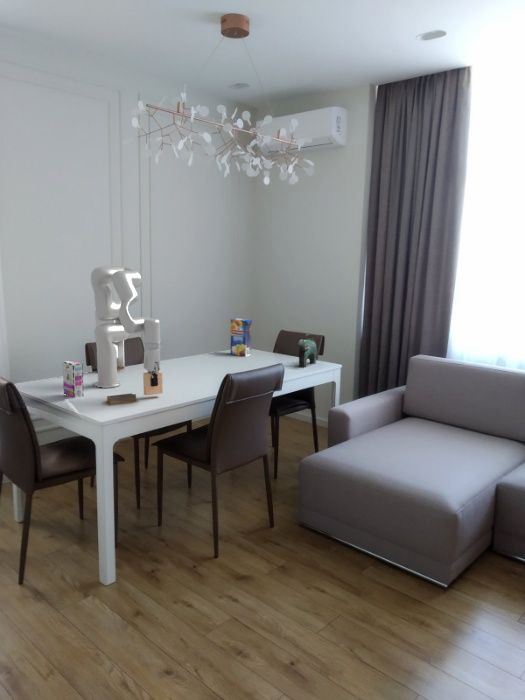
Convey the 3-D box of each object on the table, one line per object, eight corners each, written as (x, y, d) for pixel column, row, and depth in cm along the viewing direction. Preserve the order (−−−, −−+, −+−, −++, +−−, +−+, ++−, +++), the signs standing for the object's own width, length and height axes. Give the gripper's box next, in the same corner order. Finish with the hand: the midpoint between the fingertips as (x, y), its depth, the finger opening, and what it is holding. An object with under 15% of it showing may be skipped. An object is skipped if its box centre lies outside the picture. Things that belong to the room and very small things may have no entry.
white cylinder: (96, 372, 307) (95, 310, 301) (106, 368, 317) (104, 308, 311) (115, 373, 304) (113, 311, 298) (124, 370, 315) (123, 309, 309)
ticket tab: (143, 394, 252) (143, 372, 250) (160, 391, 256) (159, 371, 254) (145, 395, 250) (145, 374, 248) (162, 393, 254) (162, 372, 252)
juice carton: (251, 355, 371) (251, 319, 366) (245, 356, 364) (246, 320, 360) (236, 353, 376) (236, 318, 372) (230, 354, 370) (230, 319, 366)
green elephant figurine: (304, 368, 331) (305, 335, 327) (294, 367, 334) (295, 334, 331) (318, 363, 347) (319, 332, 344) (309, 362, 351) (310, 331, 347)
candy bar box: (84, 398, 253) (83, 363, 250) (74, 400, 250) (72, 364, 247) (73, 393, 261) (72, 359, 258) (63, 395, 257) (61, 361, 255)
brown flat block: (103, 403, 245) (103, 394, 244) (134, 399, 252) (133, 390, 251) (108, 408, 238) (108, 398, 237) (139, 404, 245) (139, 394, 244)
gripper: (138, 343, 254) (139, 382, 257) (150, 349, 240) (151, 389, 243) (153, 342, 258) (154, 380, 261) (166, 348, 244) (167, 388, 247)
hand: (152, 384), depth 252 cm, fingers closed on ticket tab, 3 cm apart
